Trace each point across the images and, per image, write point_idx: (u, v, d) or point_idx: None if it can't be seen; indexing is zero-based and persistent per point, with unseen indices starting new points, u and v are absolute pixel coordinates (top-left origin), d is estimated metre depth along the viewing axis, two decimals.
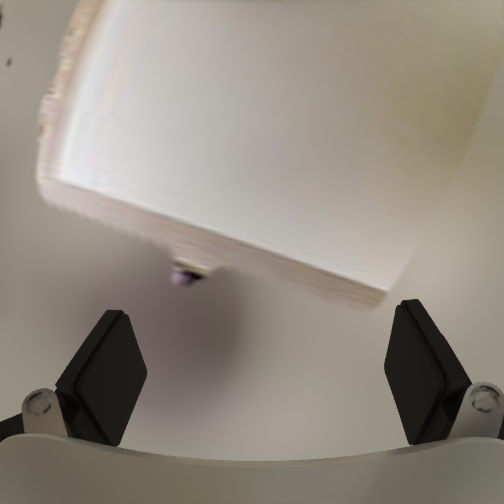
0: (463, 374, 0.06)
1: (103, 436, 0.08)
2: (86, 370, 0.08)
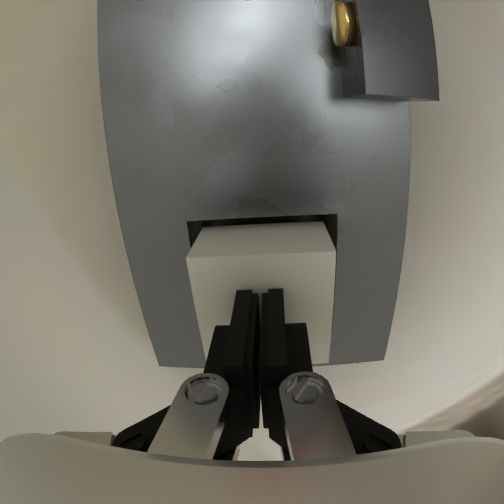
0: (284, 360, 0.08)
1: (250, 418, 0.09)
2: (248, 348, 0.08)
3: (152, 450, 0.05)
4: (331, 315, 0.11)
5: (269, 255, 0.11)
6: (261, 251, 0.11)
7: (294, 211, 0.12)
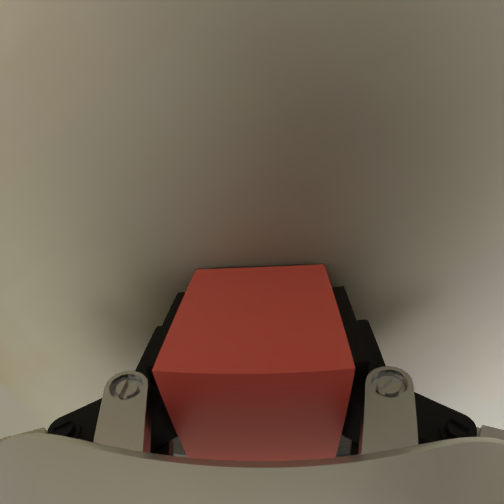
0: (366, 356, 0.07)
1: None
2: None
3: None
4: None
5: None
6: None
7: None
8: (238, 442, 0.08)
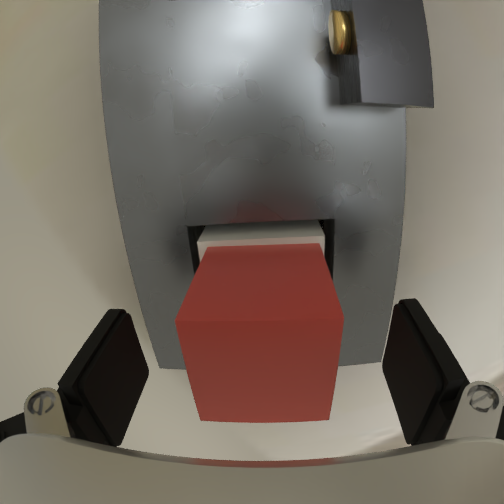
0: (460, 373, 0.06)
1: (105, 435, 0.08)
2: (88, 369, 0.08)
3: None
4: None
5: (268, 239, 0.13)
6: (261, 235, 0.13)
7: (292, 216, 0.13)
8: (244, 393, 0.09)
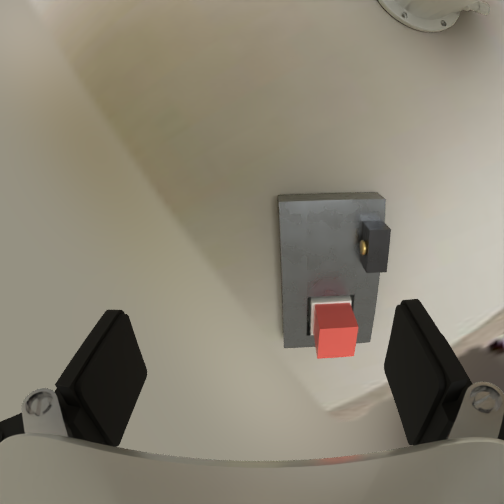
0: (463, 374, 0.06)
1: (103, 436, 0.08)
2: (86, 370, 0.08)
3: None
4: None
5: (334, 302, 0.38)
6: (331, 300, 0.39)
7: (341, 294, 0.39)
8: (332, 347, 0.35)
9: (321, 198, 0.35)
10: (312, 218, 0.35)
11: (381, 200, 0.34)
